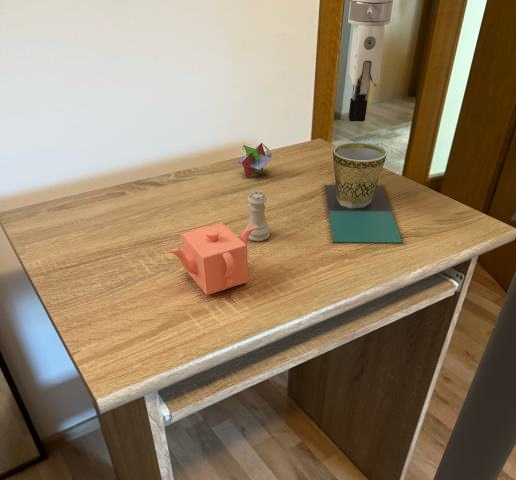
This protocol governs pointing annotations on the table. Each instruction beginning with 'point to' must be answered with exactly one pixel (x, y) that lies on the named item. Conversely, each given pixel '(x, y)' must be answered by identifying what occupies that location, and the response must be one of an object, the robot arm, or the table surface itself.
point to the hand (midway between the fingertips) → (356, 120)
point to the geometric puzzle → (255, 159)
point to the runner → (362, 220)
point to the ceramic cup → (357, 172)
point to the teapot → (215, 257)
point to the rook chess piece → (258, 217)
